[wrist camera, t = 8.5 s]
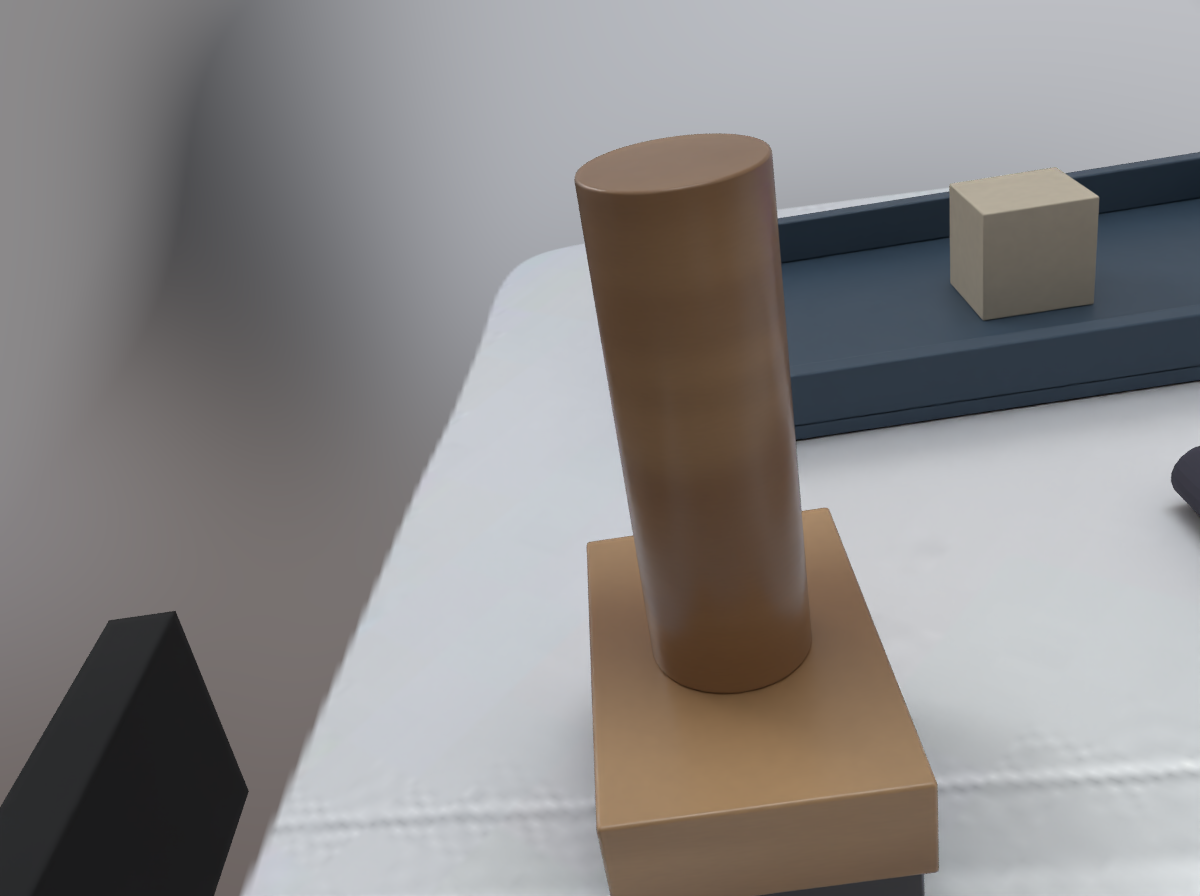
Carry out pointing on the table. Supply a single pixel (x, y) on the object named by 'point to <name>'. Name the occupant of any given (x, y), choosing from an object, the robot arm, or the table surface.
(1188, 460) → the bracket
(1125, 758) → the table surface
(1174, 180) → the tray
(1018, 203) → the beige cube block
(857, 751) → the wooden rubber stamp
